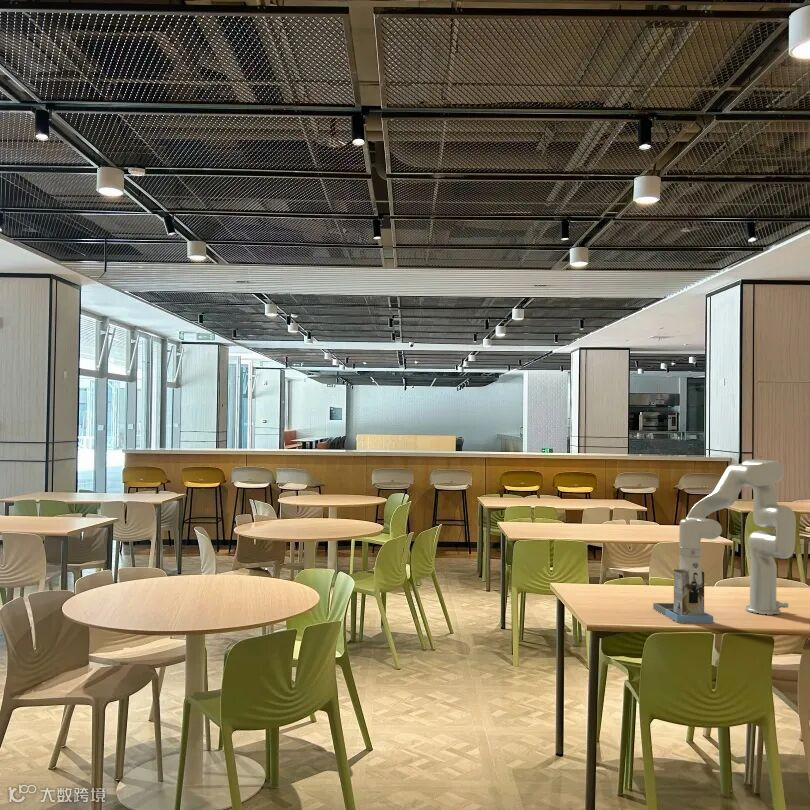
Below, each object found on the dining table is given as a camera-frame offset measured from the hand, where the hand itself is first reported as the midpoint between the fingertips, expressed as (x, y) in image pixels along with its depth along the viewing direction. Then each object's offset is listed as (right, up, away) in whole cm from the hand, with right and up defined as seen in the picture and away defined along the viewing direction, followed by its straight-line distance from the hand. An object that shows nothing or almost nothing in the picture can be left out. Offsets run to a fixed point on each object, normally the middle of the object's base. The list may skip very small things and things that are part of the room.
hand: (688, 600), depth 295 cm
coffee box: (0, -5, 0) cm, 5 cm away
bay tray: (-1, -7, +5) cm, 9 cm away
